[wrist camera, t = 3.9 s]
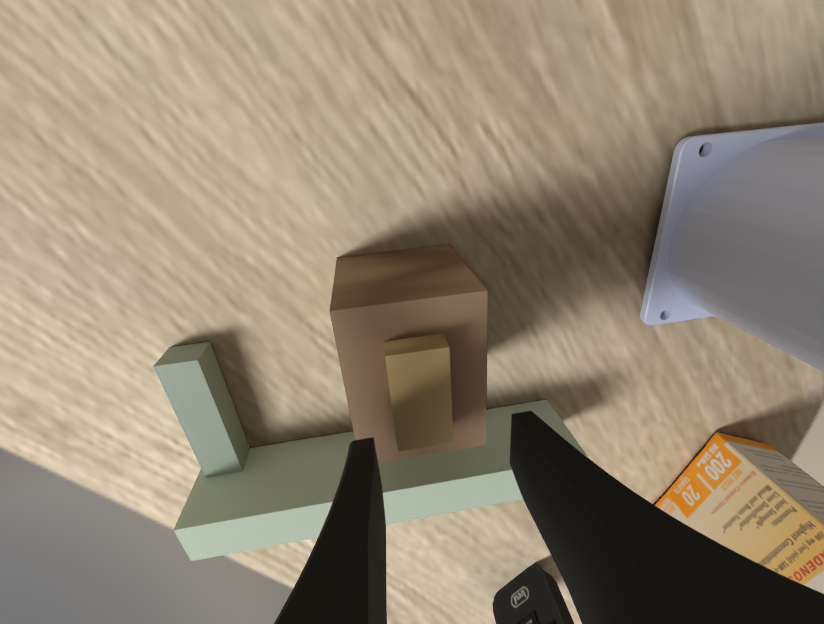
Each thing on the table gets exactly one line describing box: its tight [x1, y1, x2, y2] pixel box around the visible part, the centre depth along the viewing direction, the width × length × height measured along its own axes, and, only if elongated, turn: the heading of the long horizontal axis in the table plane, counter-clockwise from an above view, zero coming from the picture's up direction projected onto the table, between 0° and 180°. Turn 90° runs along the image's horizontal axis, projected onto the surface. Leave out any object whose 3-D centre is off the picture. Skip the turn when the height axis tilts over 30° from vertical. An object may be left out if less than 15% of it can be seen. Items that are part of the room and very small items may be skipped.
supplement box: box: [655, 432, 824, 594], centre depth 19 cm, size 8×5×13 cm, turn 160°
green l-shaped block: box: [153, 342, 588, 561], centre depth 16 cm, size 17×8×4 cm, turn 95°
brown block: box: [330, 244, 488, 463], centre depth 14 cm, size 4×6×6 cm
